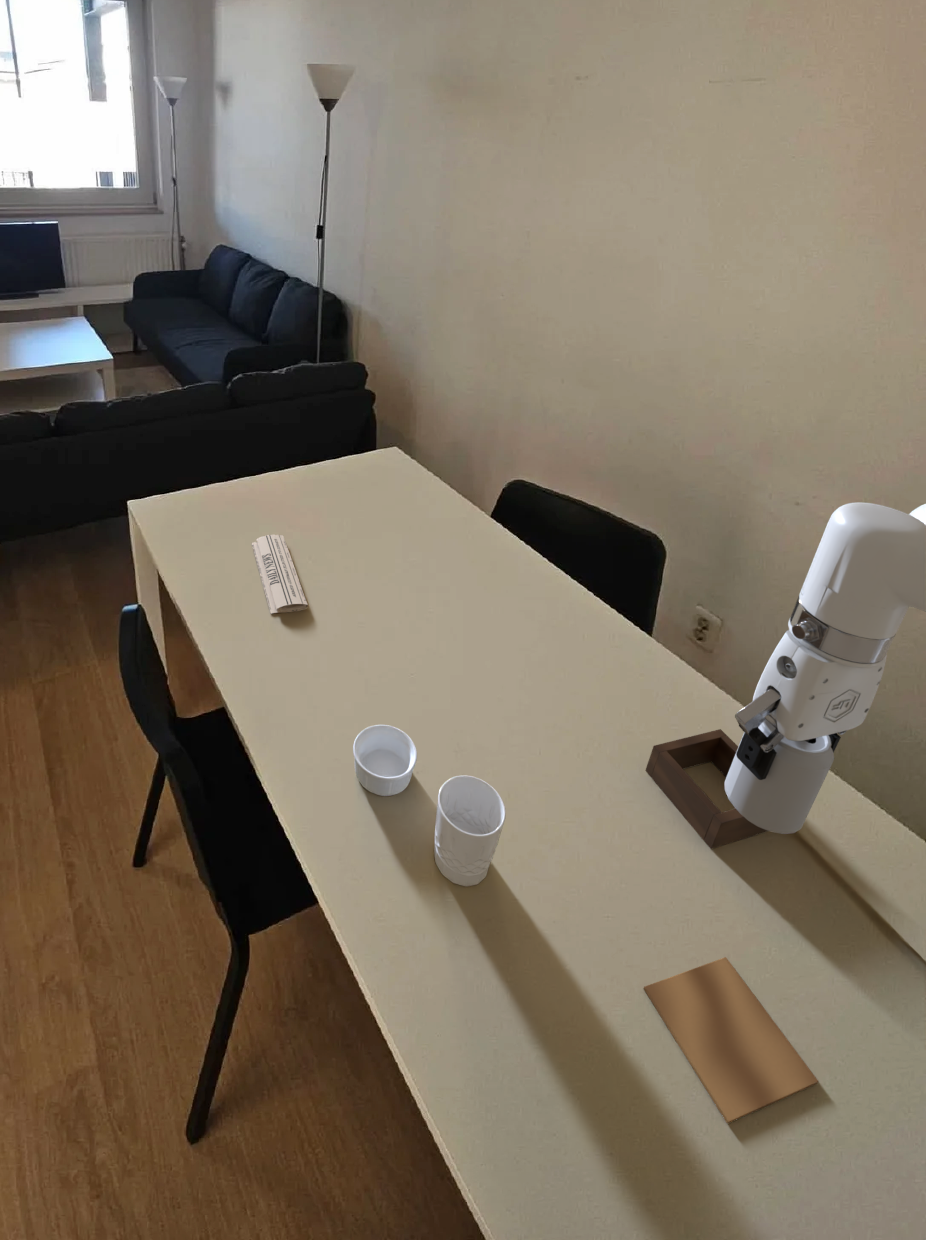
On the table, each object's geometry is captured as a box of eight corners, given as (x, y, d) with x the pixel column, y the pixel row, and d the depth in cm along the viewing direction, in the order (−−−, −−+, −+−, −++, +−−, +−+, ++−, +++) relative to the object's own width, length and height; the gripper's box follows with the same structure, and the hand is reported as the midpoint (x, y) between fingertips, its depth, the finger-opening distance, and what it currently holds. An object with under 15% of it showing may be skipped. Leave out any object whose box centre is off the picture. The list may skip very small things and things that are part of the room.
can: (817, 841, 70) (858, 759, 65) (745, 837, 70) (780, 755, 65) (774, 778, 77) (808, 700, 72) (709, 775, 77) (738, 696, 72)
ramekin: (406, 810, 89) (409, 787, 87) (343, 787, 92) (345, 765, 90) (420, 757, 97) (423, 735, 95) (361, 738, 99) (363, 716, 98)
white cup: (425, 827, 87) (434, 773, 83) (486, 830, 87) (497, 776, 83) (433, 890, 80) (443, 834, 76) (499, 894, 80) (512, 838, 76)
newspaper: (307, 609, 126) (308, 602, 125) (270, 614, 124) (270, 606, 123) (283, 540, 147) (283, 533, 146) (251, 543, 145) (251, 536, 144)
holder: (711, 753, 99) (720, 728, 97) (782, 827, 89) (794, 801, 87) (645, 770, 96) (653, 745, 94) (710, 849, 86) (721, 823, 84)
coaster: (724, 959, 74) (725, 956, 74) (817, 1083, 65) (818, 1081, 64) (643, 988, 71) (643, 986, 71) (727, 1124, 62) (728, 1122, 62)
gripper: (803, 671, 58) (744, 810, 65) (949, 641, 62) (879, 774, 69) (733, 615, 65) (686, 746, 72) (869, 591, 69) (813, 717, 76)
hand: (781, 759), depth 71 cm, fingers closed on can, 7 cm apart
